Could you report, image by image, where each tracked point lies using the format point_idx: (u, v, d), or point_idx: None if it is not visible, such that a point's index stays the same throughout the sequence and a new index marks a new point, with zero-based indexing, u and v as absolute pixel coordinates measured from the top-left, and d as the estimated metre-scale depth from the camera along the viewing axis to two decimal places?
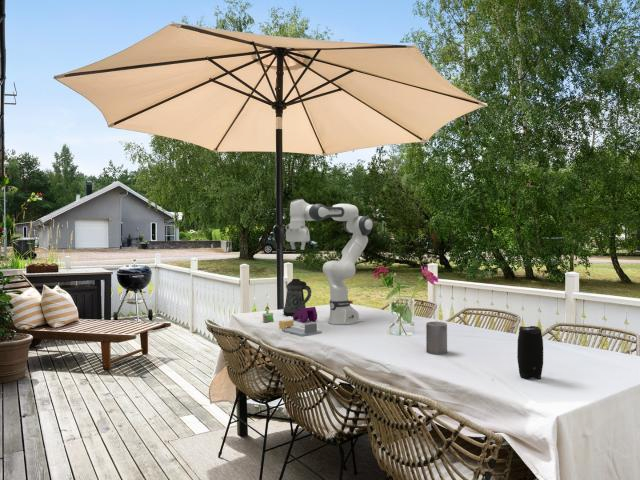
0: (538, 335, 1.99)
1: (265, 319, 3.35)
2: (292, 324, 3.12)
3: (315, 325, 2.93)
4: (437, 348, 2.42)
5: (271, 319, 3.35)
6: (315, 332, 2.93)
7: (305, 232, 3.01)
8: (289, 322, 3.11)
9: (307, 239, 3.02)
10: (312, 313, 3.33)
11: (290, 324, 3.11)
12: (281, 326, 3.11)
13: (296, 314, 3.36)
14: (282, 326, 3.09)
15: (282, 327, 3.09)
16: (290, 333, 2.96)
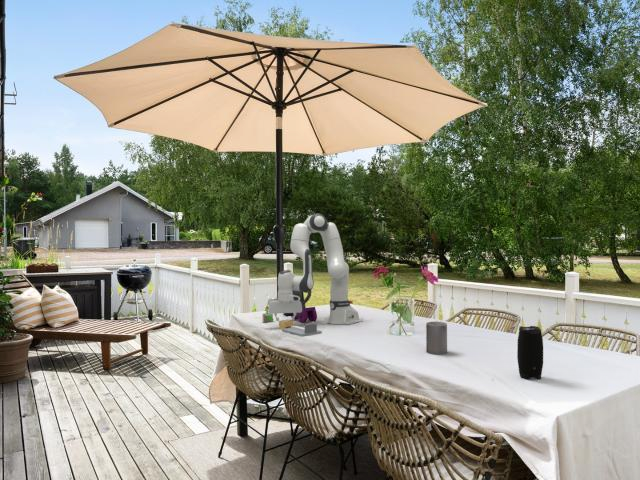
0: (538, 335, 1.99)
1: (265, 319, 3.35)
2: (292, 324, 3.12)
3: (315, 325, 2.93)
4: (437, 348, 2.42)
5: (271, 319, 3.35)
6: (315, 332, 2.93)
7: None
8: (289, 322, 3.11)
9: (268, 311, 3.10)
10: (312, 313, 3.33)
11: (290, 324, 3.11)
12: (281, 326, 3.11)
13: (296, 314, 3.36)
14: (282, 326, 3.09)
15: (282, 327, 3.09)
16: (290, 333, 2.96)
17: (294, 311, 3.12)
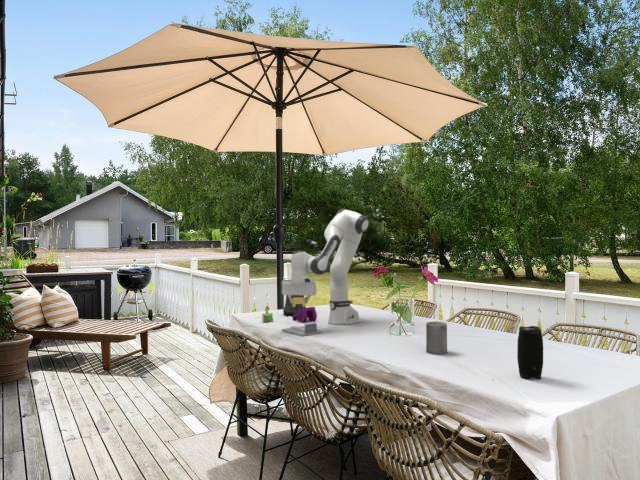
0: (538, 335, 1.99)
1: (265, 319, 3.35)
2: (303, 302, 2.97)
3: (315, 325, 2.93)
4: (437, 348, 2.42)
5: (271, 319, 3.35)
6: (315, 332, 2.93)
7: None
8: (299, 300, 2.97)
9: None
10: (311, 313, 3.33)
11: (300, 302, 2.97)
12: None
13: (296, 314, 3.36)
14: None
15: None
16: (290, 333, 2.96)
17: (307, 294, 2.98)
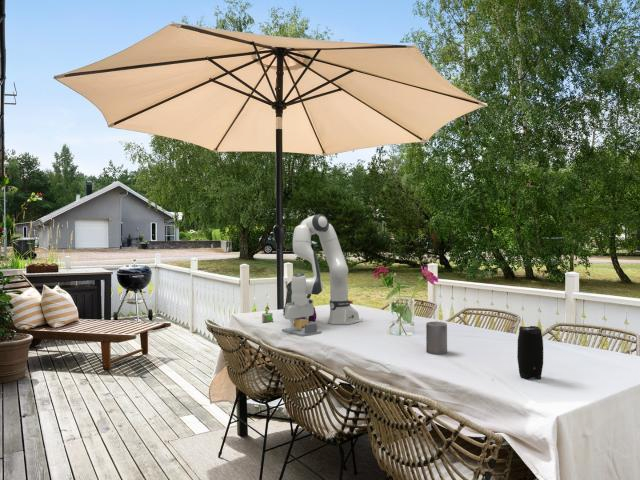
0: (538, 335, 1.99)
1: (264, 319, 3.35)
2: None
3: (315, 325, 2.93)
4: (437, 348, 2.42)
5: (270, 319, 3.35)
6: (315, 332, 2.93)
7: (285, 309, 2.95)
8: (305, 321, 3.00)
9: (286, 317, 2.94)
10: None
11: None
12: (296, 324, 2.98)
13: None
14: (298, 325, 2.97)
15: (298, 326, 2.97)
16: (290, 333, 2.96)
17: (308, 315, 3.03)
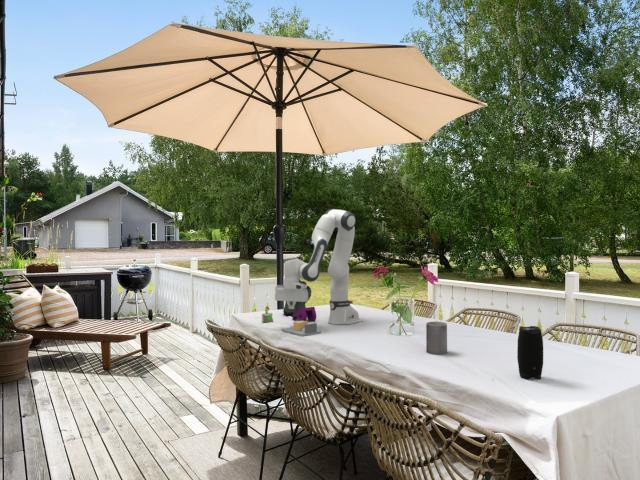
0: (538, 335, 1.99)
1: (264, 319, 3.35)
2: None
3: (315, 325, 2.93)
4: (437, 348, 2.42)
5: (270, 319, 3.35)
6: (315, 332, 2.93)
7: None
8: (304, 323, 2.99)
9: None
10: (311, 313, 3.33)
11: None
12: (295, 327, 2.98)
13: (295, 314, 3.37)
14: (297, 328, 2.97)
15: (297, 329, 2.97)
16: (290, 333, 2.96)
17: (298, 300, 3.04)
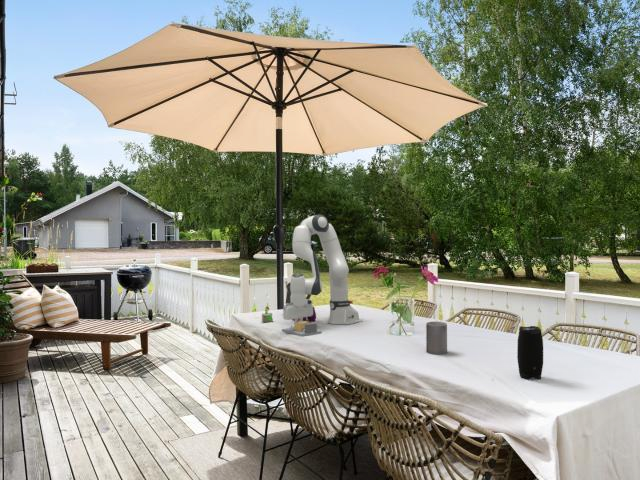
0: (538, 335, 1.99)
1: (264, 319, 3.35)
2: None
3: (315, 325, 2.93)
4: (437, 348, 2.42)
5: (270, 319, 3.35)
6: (315, 332, 2.93)
7: (284, 309, 2.96)
8: None
9: (284, 317, 2.95)
10: None
11: None
12: (296, 327, 2.97)
13: None
14: (298, 328, 2.96)
15: (298, 329, 2.96)
16: (290, 333, 2.96)
17: (307, 315, 3.04)
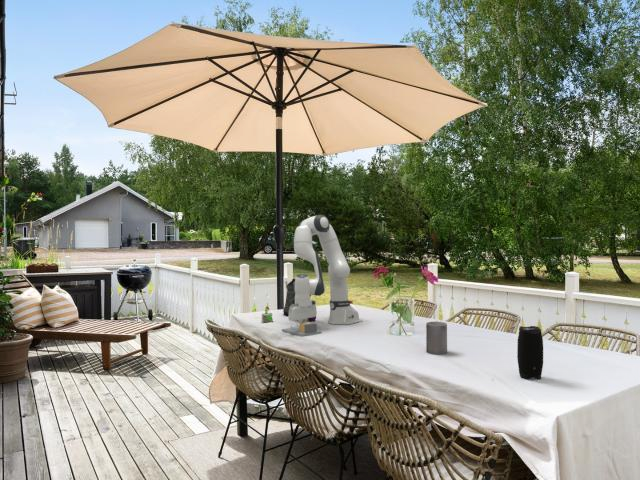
0: (538, 335, 1.99)
1: (264, 319, 3.35)
2: None
3: (315, 325, 2.93)
4: (437, 348, 2.42)
5: (270, 319, 3.35)
6: (315, 332, 2.93)
7: (289, 311, 2.92)
8: None
9: (290, 318, 2.91)
10: None
11: None
12: (301, 329, 2.94)
13: None
14: (303, 329, 2.92)
15: (303, 330, 2.93)
16: (290, 333, 2.96)
17: (311, 316, 3.01)
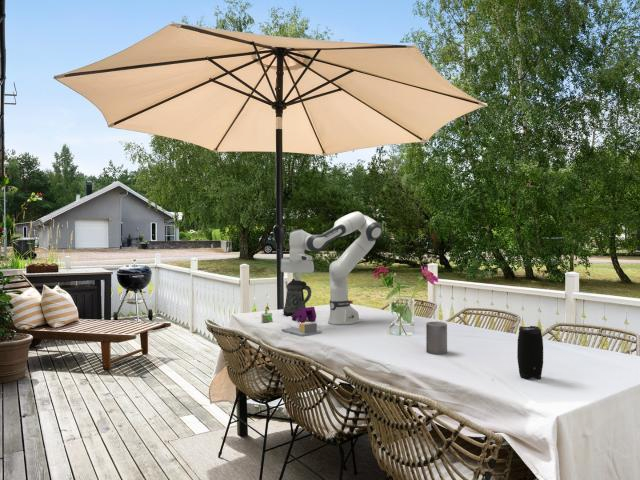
0: (538, 335, 1.99)
1: (264, 319, 3.35)
2: None
3: (315, 325, 2.93)
4: (437, 348, 2.42)
5: (270, 319, 3.35)
6: (315, 332, 2.93)
7: None
8: None
9: None
10: (311, 313, 3.34)
11: None
12: (301, 329, 2.94)
13: (295, 314, 3.37)
14: (303, 329, 2.92)
15: (303, 330, 2.93)
16: (290, 333, 2.96)
17: (304, 271, 3.03)
